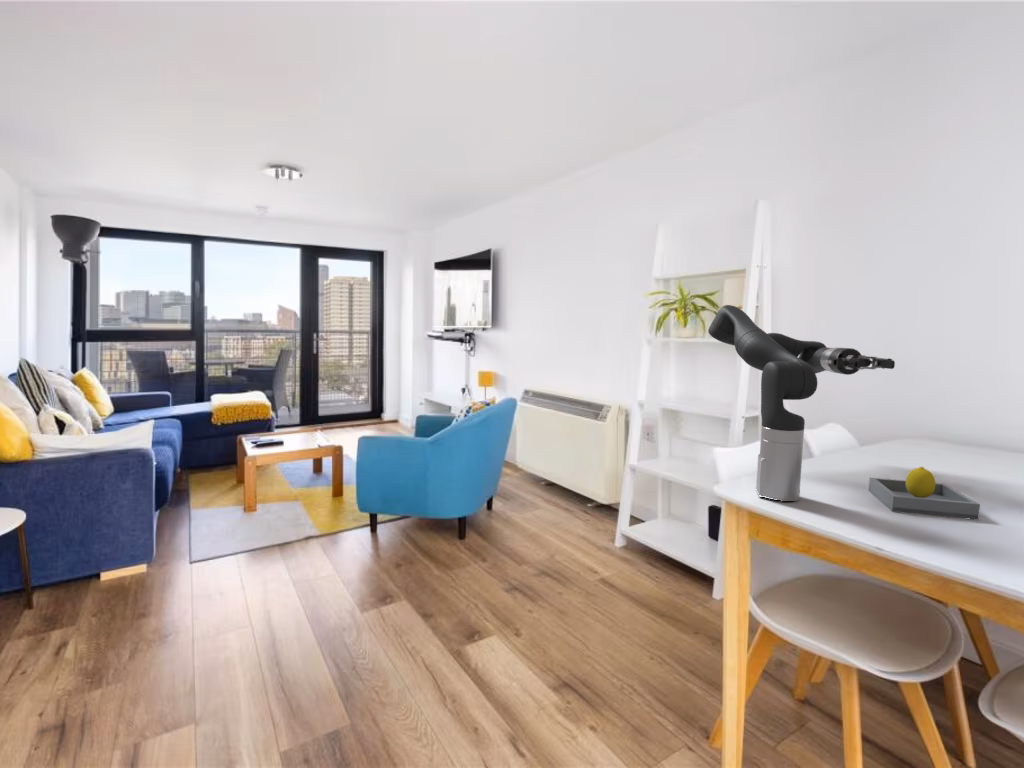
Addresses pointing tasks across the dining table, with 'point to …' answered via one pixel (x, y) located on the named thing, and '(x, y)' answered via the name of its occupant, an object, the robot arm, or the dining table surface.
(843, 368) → the robot arm
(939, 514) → the tray
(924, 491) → the lemon
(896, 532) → the dining table surface
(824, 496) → the dining table surface
